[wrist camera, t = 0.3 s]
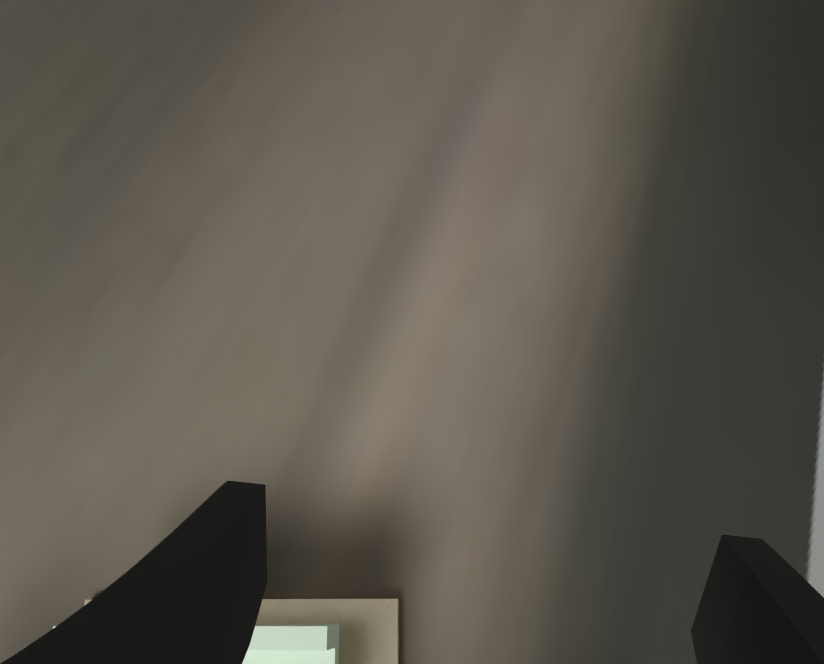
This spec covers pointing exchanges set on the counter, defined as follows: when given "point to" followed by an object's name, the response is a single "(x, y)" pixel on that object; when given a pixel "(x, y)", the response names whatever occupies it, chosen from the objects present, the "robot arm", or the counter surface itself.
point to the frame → (344, 624)
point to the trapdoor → (293, 644)
